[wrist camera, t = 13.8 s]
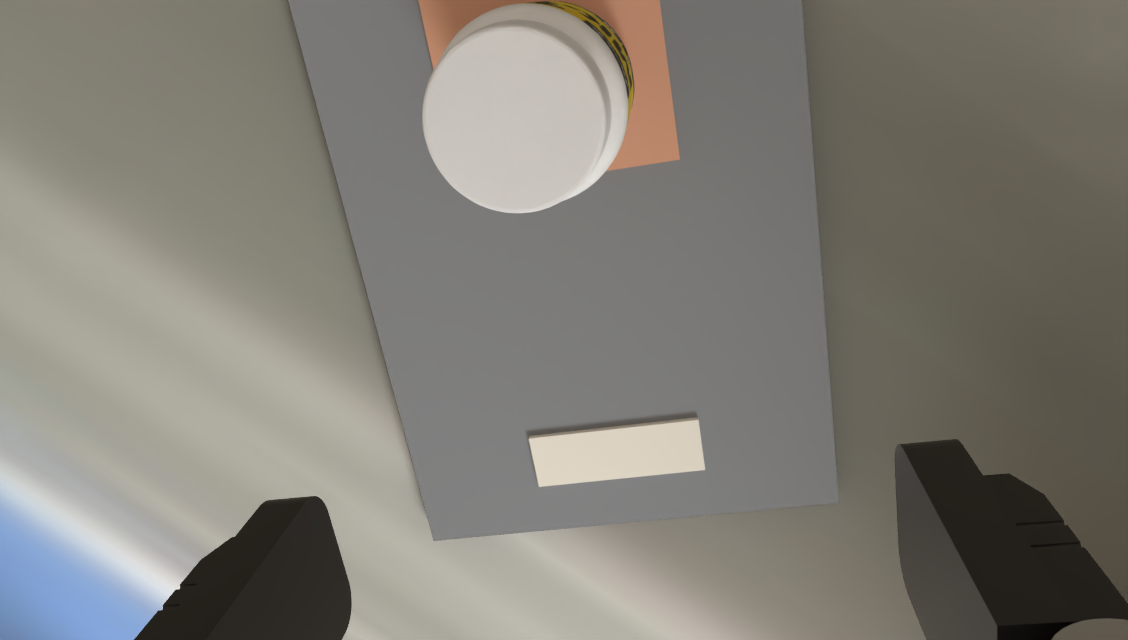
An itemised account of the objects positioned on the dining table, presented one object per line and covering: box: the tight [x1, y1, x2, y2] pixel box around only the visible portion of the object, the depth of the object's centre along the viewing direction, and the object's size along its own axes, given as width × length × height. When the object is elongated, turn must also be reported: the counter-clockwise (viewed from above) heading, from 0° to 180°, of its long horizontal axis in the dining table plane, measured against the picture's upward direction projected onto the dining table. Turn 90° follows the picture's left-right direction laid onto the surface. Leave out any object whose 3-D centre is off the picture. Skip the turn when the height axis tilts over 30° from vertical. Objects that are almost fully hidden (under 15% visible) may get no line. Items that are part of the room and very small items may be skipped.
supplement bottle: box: [422, 1, 634, 213], centre depth 22 cm, size 5×5×8 cm
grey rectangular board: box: [288, 0, 839, 541], centre depth 29 cm, size 15×20×1 cm
